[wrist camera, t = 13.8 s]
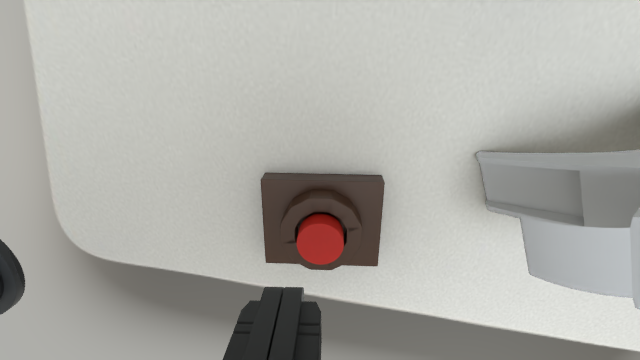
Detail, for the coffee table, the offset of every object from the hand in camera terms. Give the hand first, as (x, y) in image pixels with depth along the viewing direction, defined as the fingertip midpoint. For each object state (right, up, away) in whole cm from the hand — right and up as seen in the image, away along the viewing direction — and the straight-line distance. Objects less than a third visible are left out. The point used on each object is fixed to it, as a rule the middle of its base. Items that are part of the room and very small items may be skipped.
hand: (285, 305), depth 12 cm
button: (+1, +1, +13) cm, 13 cm away
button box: (+2, +2, +16) cm, 16 cm away
